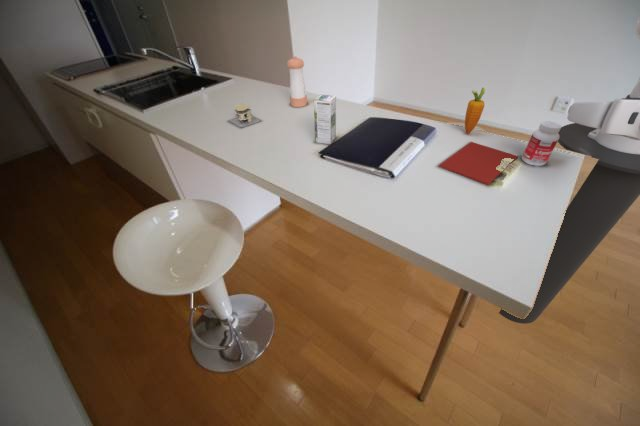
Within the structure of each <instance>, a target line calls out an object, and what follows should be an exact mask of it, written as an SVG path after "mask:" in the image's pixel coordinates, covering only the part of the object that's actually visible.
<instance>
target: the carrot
mask: <svg viewBox="0 0 640 426" xmlns="http://www.w3.org/2000/svg"><path fill="white" fill-rule="evenodd" d="M485 91H486V88H485V87H482V88H481V90H480V93H478V91H477V90H472V91H471V93H472V94H473V96H474V99H470V100H469V101H468V104H467V107H466V111H465V117H464V130H465V134H466V135H469V134H471V132H473V130H474V129H475V128H476V126H477V125H478V123H479V121H480V119H481V116H482V115H483V111H484V108H485V101H483V100H482V98H483V96H484V95H485V93H486V92H485Z"/></svg>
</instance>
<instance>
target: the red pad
mask: <svg viewBox="0 0 640 426" xmlns="http://www.w3.org/2000/svg"><path fill="white" fill-rule="evenodd" d="M518 157H519V156H518V155H516V154H513V153H509V152H506V151H503V150H499V149H496V148H493V147H489V146H486V145H484V144H480V143H477V142H473V141H470V142H468V143H467V144H466V145H464V146H463V147H462V148H461V149H459V150H458V151H457V152H455V153H454V154H452V155H451V156H450V157H448V158H447V159H445V160H444V161H443V162H441V163H440V164H438V167H439V168H441V169H444V170H446V171H450V172H452V173H455V174H456V175H460V176H463V177H465V178H467V179H470V180H473V181H476V182H477V183H480V184H483V185H486V186H489V185H490V184H491V183H493V181H494V180H495V179H496V178H497V177H499V176H500V174H502V172H500V171H498V170H496V167H497V166H498V165H500V163H501V160H502V159H504V158H511V159H514V161H516V160H517V158H518Z"/></svg>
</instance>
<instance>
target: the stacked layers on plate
mask: <svg viewBox="0 0 640 426" xmlns="http://www.w3.org/2000/svg"><path fill="white" fill-rule="evenodd" d="M233 108H234V112H235V113H236V114H235V116H236V118H234V119H231V120H229V123H232V124H233V125H235V126H237V127H239V128H241V129H242V128H245V127H248V126H251V125H254V124H256V123H260V122H261V120H260V119H257V118H256V117H254V116H253V114H252V113H251V112H252V109H251V106H250V105H248V104H244V103H240V104H237V105H234V106H233Z"/></svg>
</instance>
